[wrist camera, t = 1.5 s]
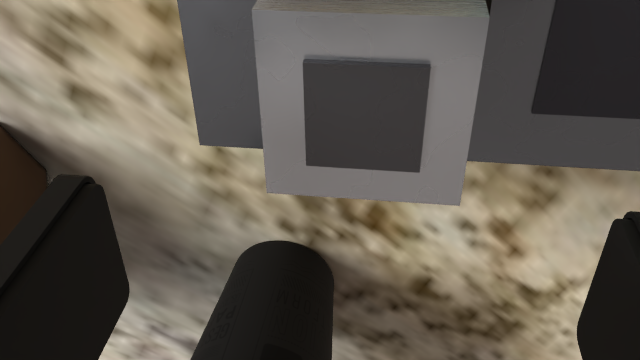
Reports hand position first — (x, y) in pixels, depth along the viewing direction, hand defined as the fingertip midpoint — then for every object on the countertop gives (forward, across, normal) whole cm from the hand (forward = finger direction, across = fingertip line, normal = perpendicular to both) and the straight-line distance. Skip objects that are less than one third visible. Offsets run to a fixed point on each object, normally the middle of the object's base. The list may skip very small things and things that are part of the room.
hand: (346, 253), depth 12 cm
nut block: (+12, 0, -1) cm, 12 cm away
